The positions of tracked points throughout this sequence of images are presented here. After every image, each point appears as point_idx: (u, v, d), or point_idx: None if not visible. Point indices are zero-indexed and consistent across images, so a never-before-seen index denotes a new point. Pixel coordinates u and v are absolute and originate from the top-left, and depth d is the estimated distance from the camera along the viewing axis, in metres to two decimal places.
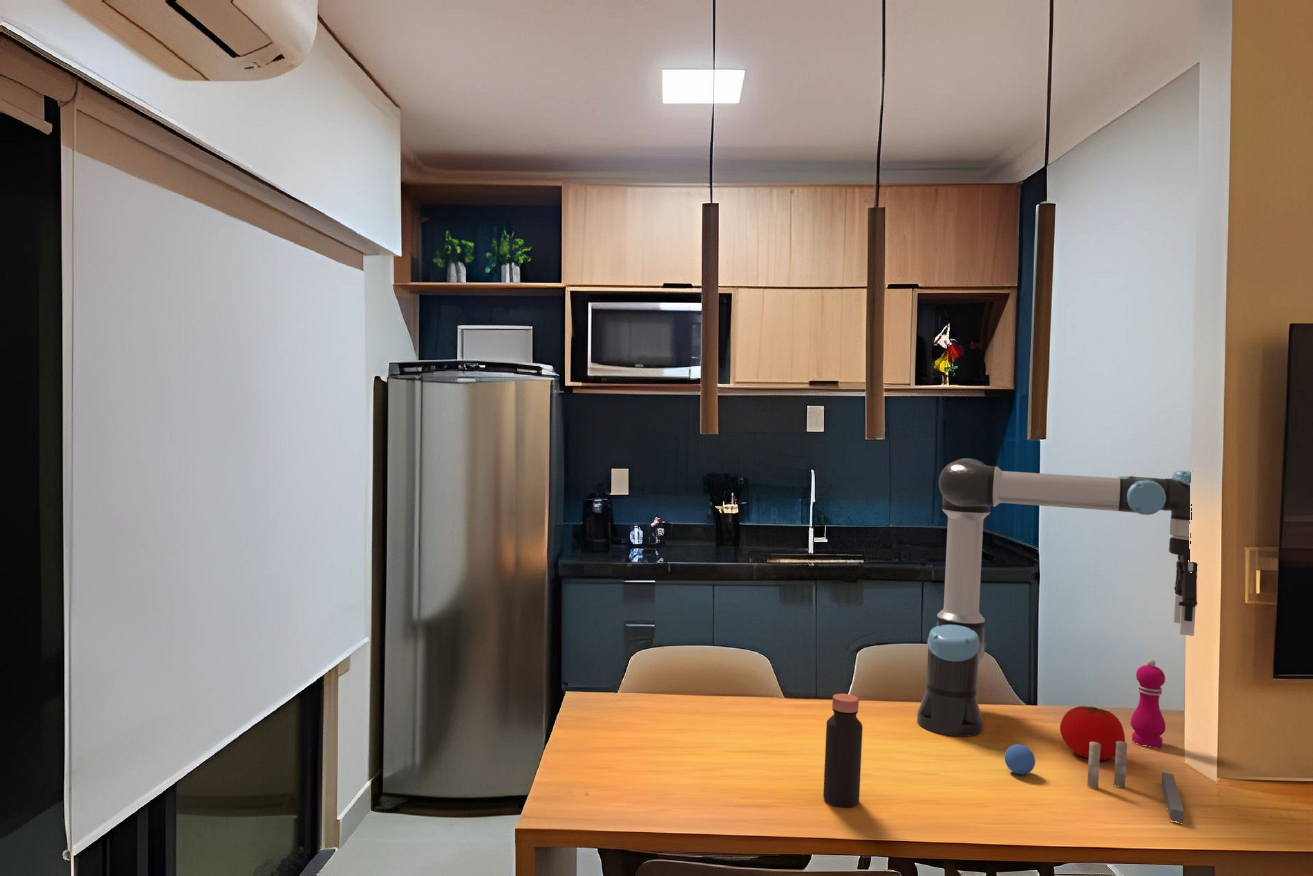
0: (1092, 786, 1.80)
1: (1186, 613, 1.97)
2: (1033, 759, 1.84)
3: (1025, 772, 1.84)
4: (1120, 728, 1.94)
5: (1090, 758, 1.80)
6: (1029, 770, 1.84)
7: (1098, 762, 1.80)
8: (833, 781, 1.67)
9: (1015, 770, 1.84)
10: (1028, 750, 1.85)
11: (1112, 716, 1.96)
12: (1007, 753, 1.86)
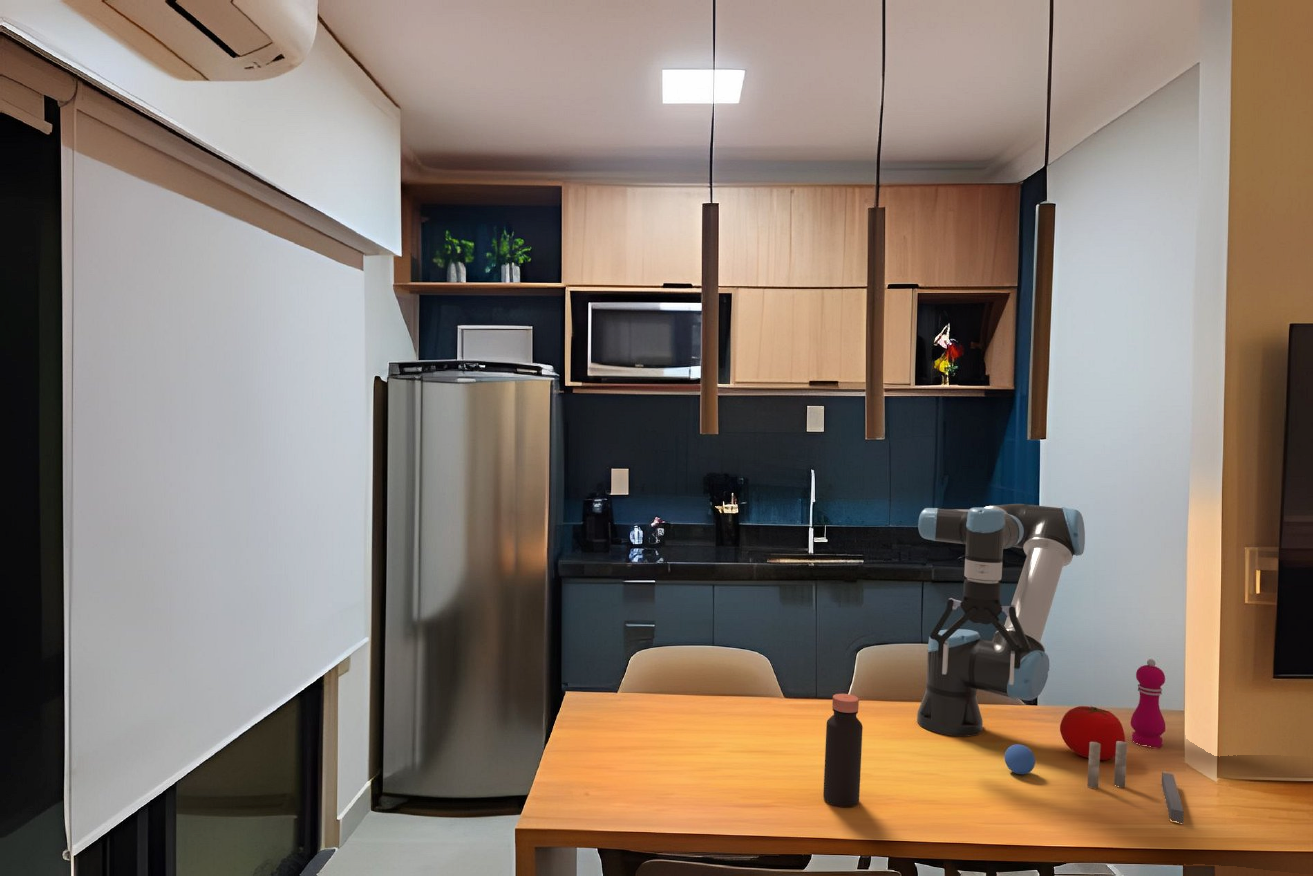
0: (1092, 786, 1.80)
1: None
2: (1033, 759, 1.84)
3: (1025, 772, 1.84)
4: (1120, 728, 1.94)
5: (1090, 758, 1.80)
6: (1029, 770, 1.84)
7: (1098, 762, 1.80)
8: (833, 781, 1.67)
9: (1015, 770, 1.84)
10: (1028, 750, 1.85)
11: (1112, 716, 1.96)
12: (1007, 753, 1.86)
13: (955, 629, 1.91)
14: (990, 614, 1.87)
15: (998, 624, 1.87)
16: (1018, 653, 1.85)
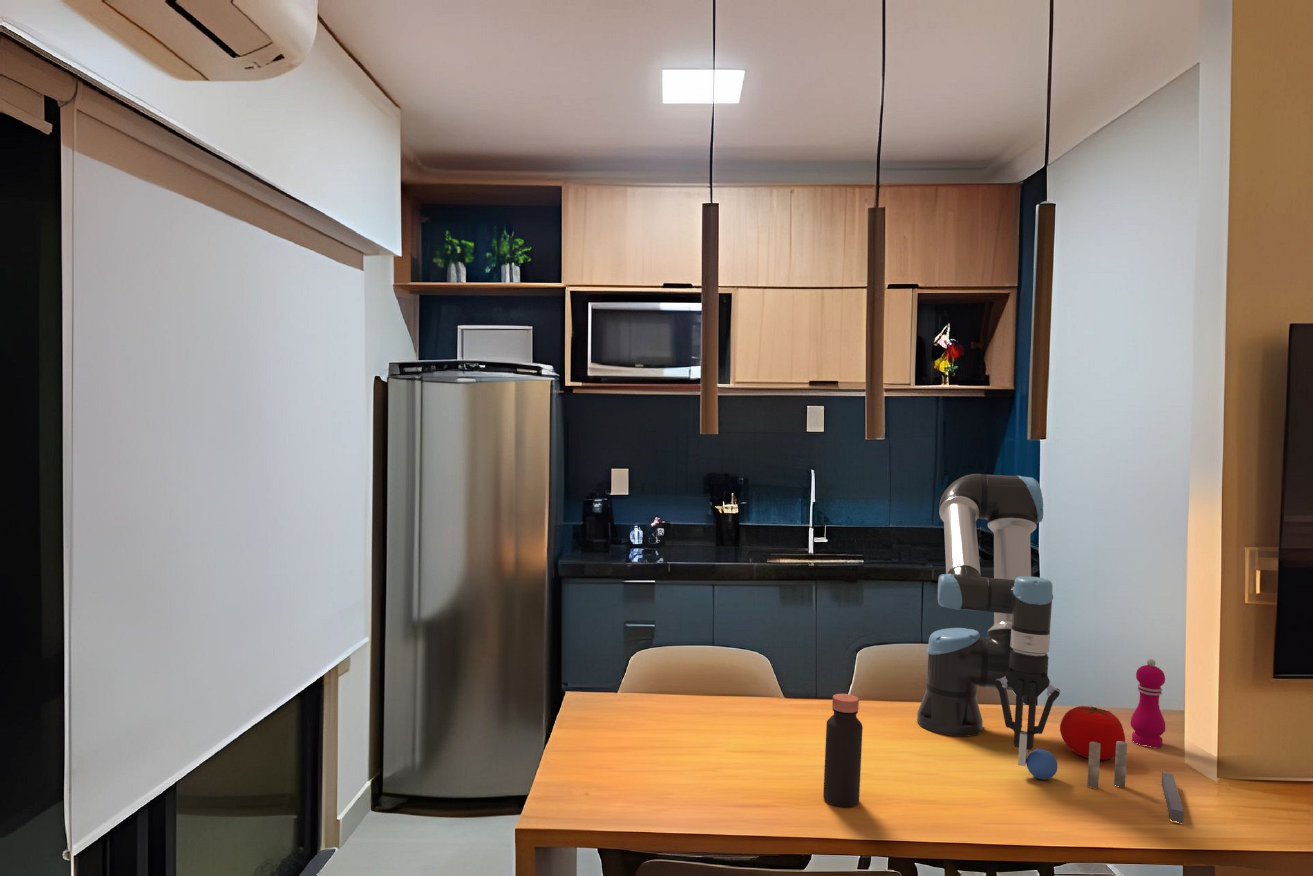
0: (1092, 786, 1.80)
1: None
2: (1051, 777, 1.82)
3: (1035, 776, 1.83)
4: (1120, 728, 1.94)
5: (1090, 758, 1.80)
6: (1039, 778, 1.83)
7: (1098, 762, 1.80)
8: (833, 781, 1.67)
9: (1031, 768, 1.83)
10: (1056, 769, 1.82)
11: (1112, 716, 1.96)
12: (1041, 754, 1.83)
13: (1020, 710, 1.84)
14: (1034, 689, 1.82)
15: (1033, 701, 1.82)
16: (1029, 734, 1.82)
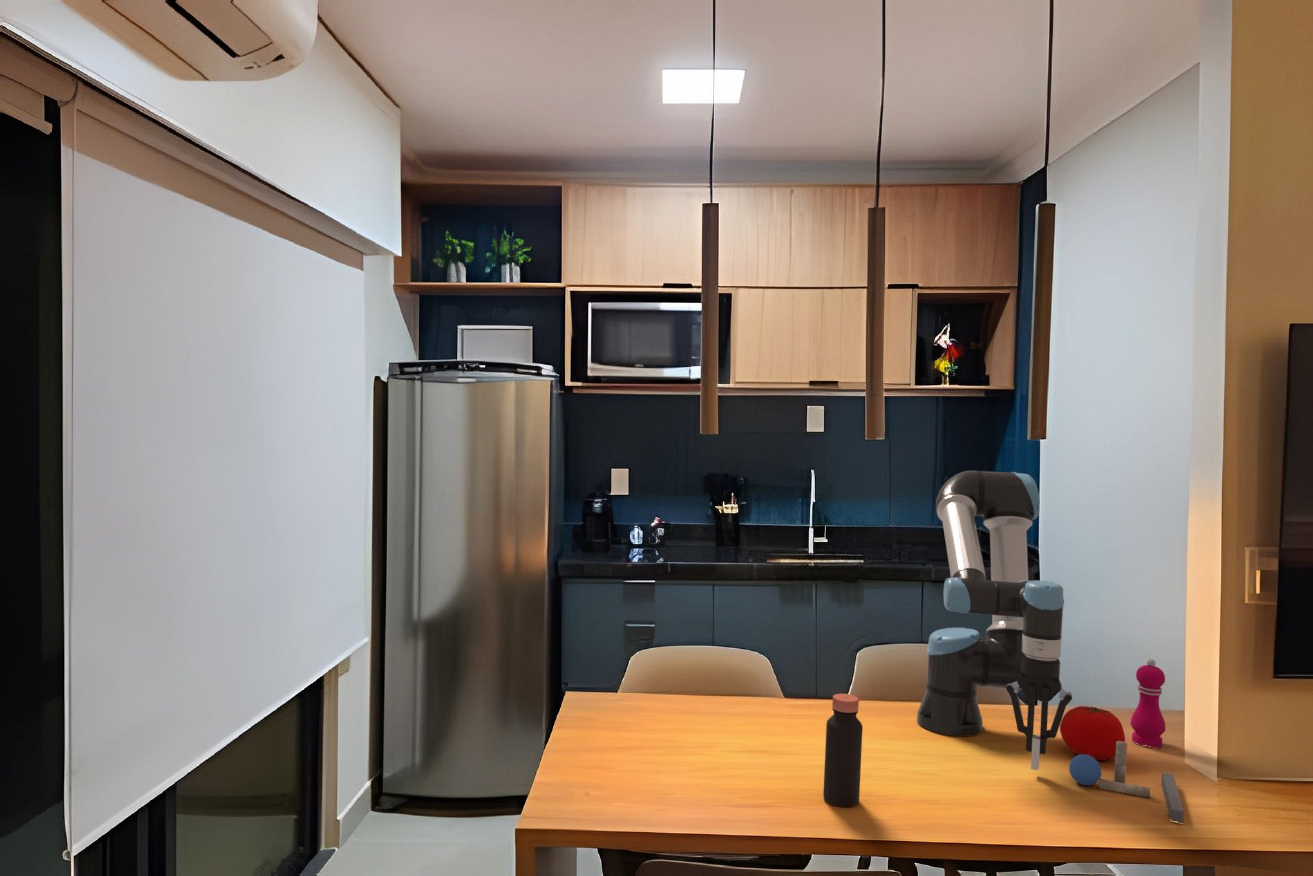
0: (1102, 785, 1.79)
1: None
2: (1073, 764, 1.81)
3: (1088, 759, 1.81)
4: (1120, 728, 1.94)
5: (1133, 787, 1.77)
6: (1083, 758, 1.81)
7: None
8: (833, 781, 1.67)
9: (1096, 767, 1.80)
10: (1072, 774, 1.81)
11: (1112, 716, 1.96)
12: (1094, 783, 1.80)
13: (1032, 715, 1.84)
14: (1046, 694, 1.82)
15: (1046, 706, 1.82)
16: (1043, 739, 1.82)
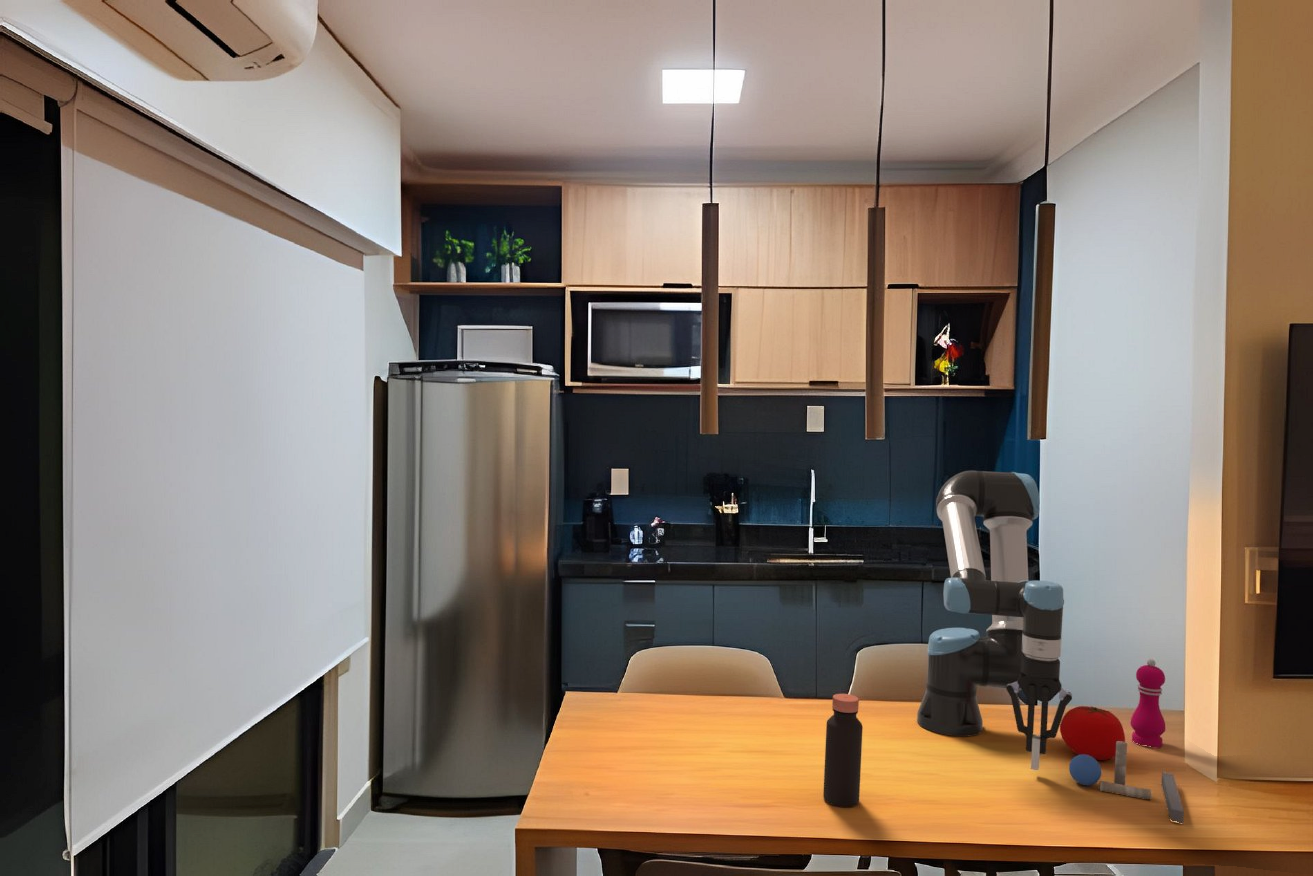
0: None
1: None
2: (1073, 764, 1.81)
3: (1088, 759, 1.81)
4: (1120, 728, 1.94)
5: (1133, 795, 1.76)
6: (1083, 758, 1.81)
7: None
8: (833, 781, 1.67)
9: (1096, 767, 1.80)
10: (1072, 774, 1.81)
11: (1112, 716, 1.96)
12: (1094, 783, 1.80)
13: (1032, 715, 1.84)
14: (1046, 694, 1.82)
15: (1046, 706, 1.82)
16: (1043, 739, 1.82)
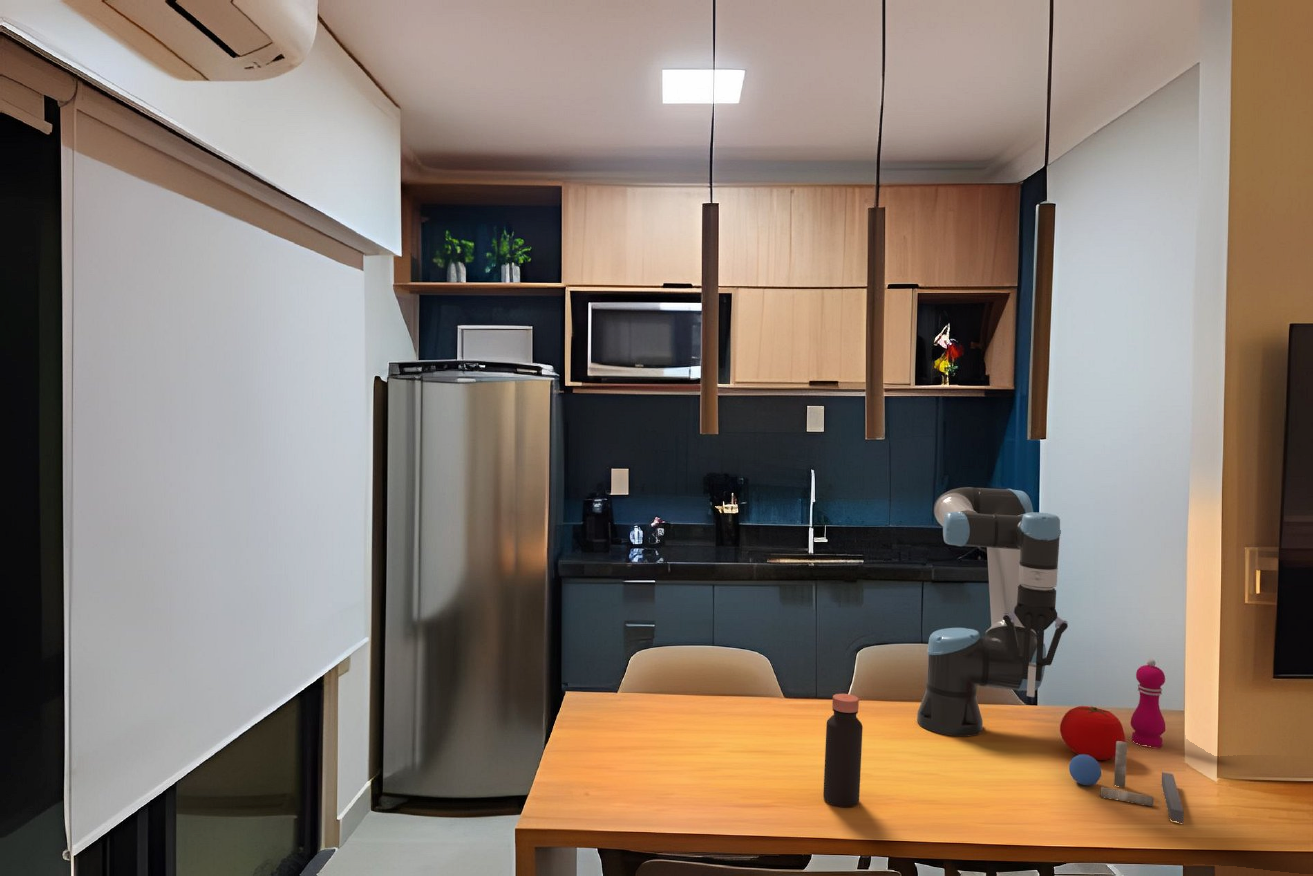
0: (1104, 787, 1.76)
1: None
2: (1073, 764, 1.81)
3: (1088, 759, 1.81)
4: (1120, 728, 1.94)
5: None
6: (1083, 758, 1.81)
7: (1132, 797, 1.73)
8: (833, 781, 1.67)
9: (1096, 767, 1.80)
10: (1072, 774, 1.81)
11: (1112, 716, 1.96)
12: (1094, 783, 1.80)
13: (1028, 644, 1.87)
14: (1043, 622, 1.85)
15: (1042, 634, 1.86)
16: (1038, 666, 1.86)
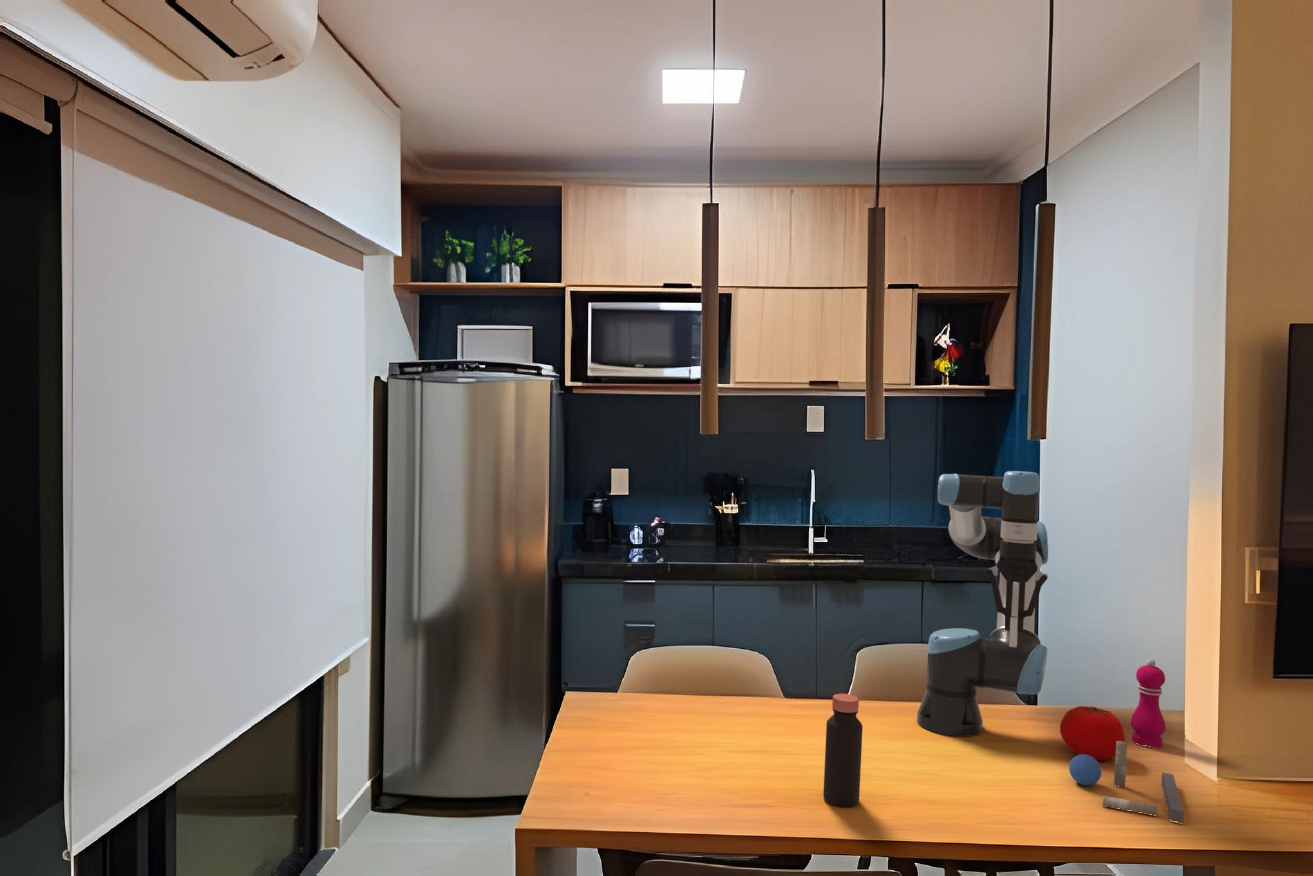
0: None
1: None
2: (1073, 764, 1.81)
3: (1088, 759, 1.81)
4: (1120, 728, 1.94)
5: None
6: (1083, 758, 1.81)
7: (1134, 801, 1.70)
8: (833, 781, 1.67)
9: (1096, 767, 1.80)
10: (1072, 774, 1.81)
11: (1112, 716, 1.96)
12: (1094, 783, 1.80)
13: (1010, 596, 1.96)
14: (1023, 575, 1.94)
15: (1023, 586, 1.94)
16: (1020, 617, 1.94)
